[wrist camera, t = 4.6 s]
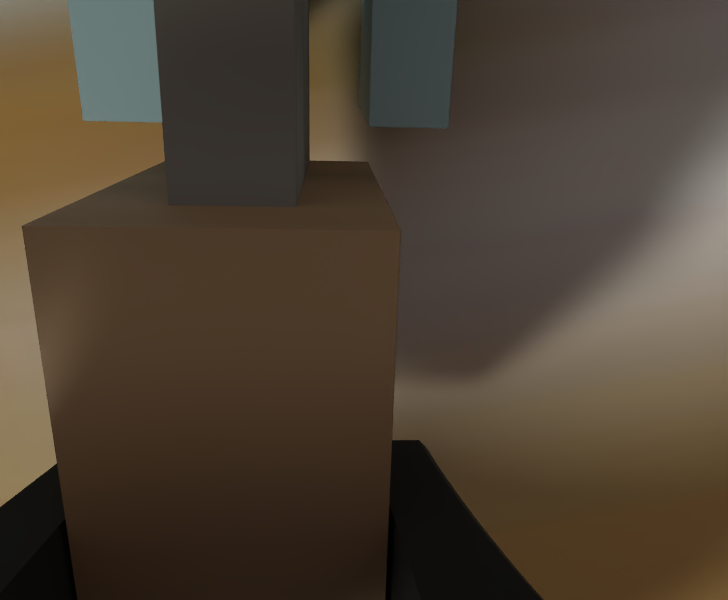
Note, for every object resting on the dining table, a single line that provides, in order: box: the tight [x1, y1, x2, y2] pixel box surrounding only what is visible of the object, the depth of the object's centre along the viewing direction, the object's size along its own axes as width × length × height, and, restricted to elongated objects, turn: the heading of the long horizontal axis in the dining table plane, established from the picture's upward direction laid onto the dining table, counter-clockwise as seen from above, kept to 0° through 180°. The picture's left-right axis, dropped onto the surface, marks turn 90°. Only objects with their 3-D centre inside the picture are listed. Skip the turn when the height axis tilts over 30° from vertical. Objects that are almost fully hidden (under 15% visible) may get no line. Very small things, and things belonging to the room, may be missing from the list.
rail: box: [22, 0, 401, 600], centre depth 8 cm, size 12×3×5 cm, turn 178°
